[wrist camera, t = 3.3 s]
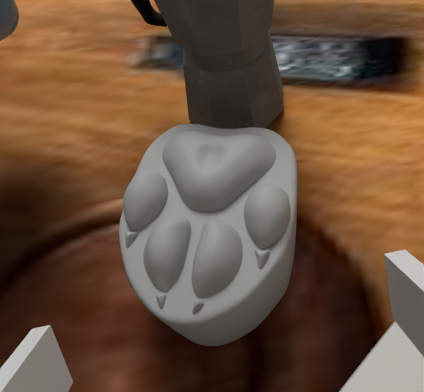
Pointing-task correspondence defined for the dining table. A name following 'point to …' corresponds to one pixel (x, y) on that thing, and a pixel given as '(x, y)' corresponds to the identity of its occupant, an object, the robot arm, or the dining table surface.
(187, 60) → the coffeepot
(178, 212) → the lumpy-topped squat cylinder
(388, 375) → the shelf board
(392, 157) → the dining table surface
